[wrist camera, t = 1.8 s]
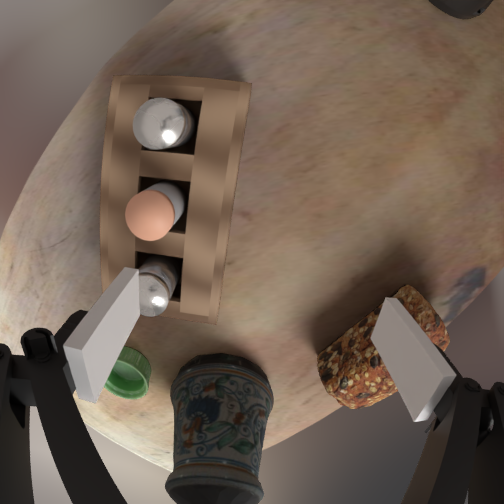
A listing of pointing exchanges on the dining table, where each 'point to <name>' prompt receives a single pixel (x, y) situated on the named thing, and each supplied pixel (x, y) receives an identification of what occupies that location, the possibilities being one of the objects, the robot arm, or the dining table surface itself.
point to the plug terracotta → (155, 210)
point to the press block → (181, 172)
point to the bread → (372, 354)
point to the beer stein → (218, 430)
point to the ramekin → (129, 375)
